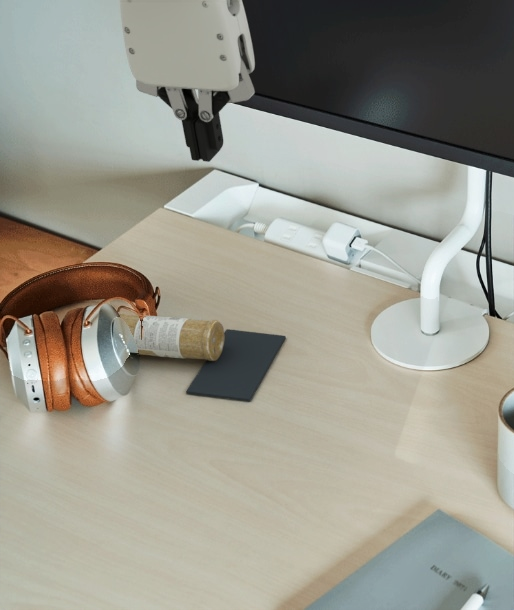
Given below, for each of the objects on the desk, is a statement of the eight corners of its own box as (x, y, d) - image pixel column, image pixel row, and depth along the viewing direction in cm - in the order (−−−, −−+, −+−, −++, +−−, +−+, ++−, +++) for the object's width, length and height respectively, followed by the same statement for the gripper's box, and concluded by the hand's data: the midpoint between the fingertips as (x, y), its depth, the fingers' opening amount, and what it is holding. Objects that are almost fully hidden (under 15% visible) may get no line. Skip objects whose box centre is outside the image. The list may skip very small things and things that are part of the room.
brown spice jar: (226, 355, 102) (113, 347, 104) (225, 315, 101) (111, 307, 103) (208, 366, 98) (90, 357, 100) (207, 324, 97) (88, 316, 99)
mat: (186, 394, 96) (185, 391, 96) (227, 331, 105) (226, 328, 105) (250, 402, 96) (249, 399, 95) (285, 338, 104) (285, 335, 104)
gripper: (274, -55, 78) (296, 144, 88) (108, -65, 80) (150, 131, 90) (240, -31, 72) (269, 180, 82) (62, -42, 74) (113, 166, 84)
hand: (207, 154), depth 86 cm, fingers closed
